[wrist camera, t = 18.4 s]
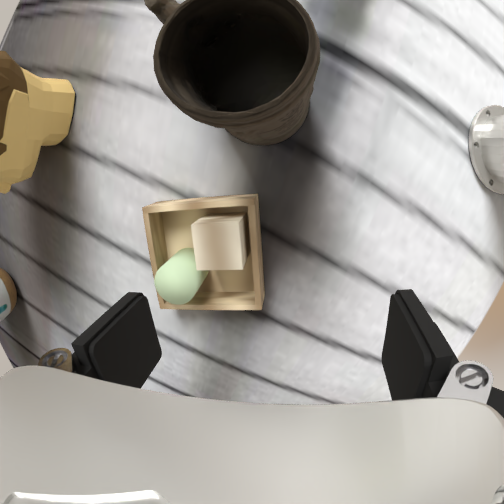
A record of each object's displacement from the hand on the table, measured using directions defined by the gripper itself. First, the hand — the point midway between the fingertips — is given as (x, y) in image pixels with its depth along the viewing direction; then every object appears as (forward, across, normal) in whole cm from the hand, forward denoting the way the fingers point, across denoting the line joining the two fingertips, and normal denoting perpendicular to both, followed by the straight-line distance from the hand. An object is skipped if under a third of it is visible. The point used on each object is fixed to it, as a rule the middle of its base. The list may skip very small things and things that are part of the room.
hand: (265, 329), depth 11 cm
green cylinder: (+25, +13, +7) cm, 29 cm away
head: (+25, +35, -16) cm, 46 cm away
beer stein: (+26, +4, -14) cm, 30 cm away
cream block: (+25, +8, +3) cm, 26 cm away
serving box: (+26, +10, +5) cm, 28 cm away
